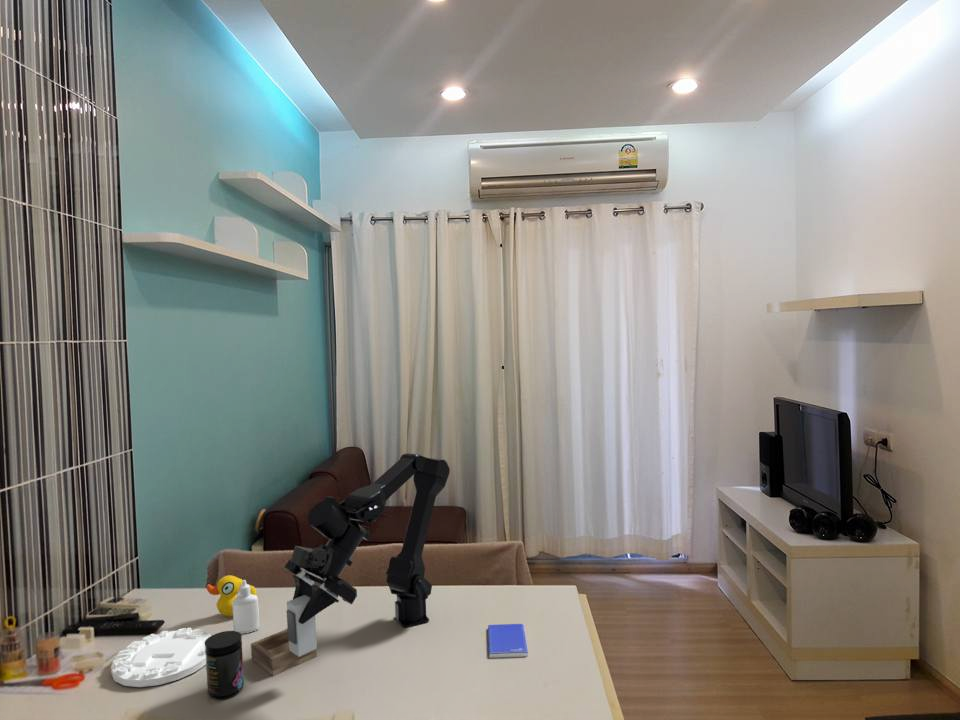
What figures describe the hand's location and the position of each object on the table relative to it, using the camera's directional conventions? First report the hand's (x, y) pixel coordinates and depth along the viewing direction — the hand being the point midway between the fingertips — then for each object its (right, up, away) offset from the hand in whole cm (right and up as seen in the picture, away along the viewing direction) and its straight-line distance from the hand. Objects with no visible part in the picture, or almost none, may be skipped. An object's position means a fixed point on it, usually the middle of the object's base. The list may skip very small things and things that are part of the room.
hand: (295, 620), depth 123 cm
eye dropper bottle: (-18, -13, +24) cm, 33 cm away
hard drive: (+42, -12, +15) cm, 47 cm away
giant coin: (-31, -14, +11) cm, 36 cm away
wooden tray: (-6, -13, +11) cm, 18 cm away
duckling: (-25, -12, +32) cm, 42 cm away
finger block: (+1, -6, +1) cm, 7 cm away
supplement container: (-13, -14, 0) cm, 19 cm away
